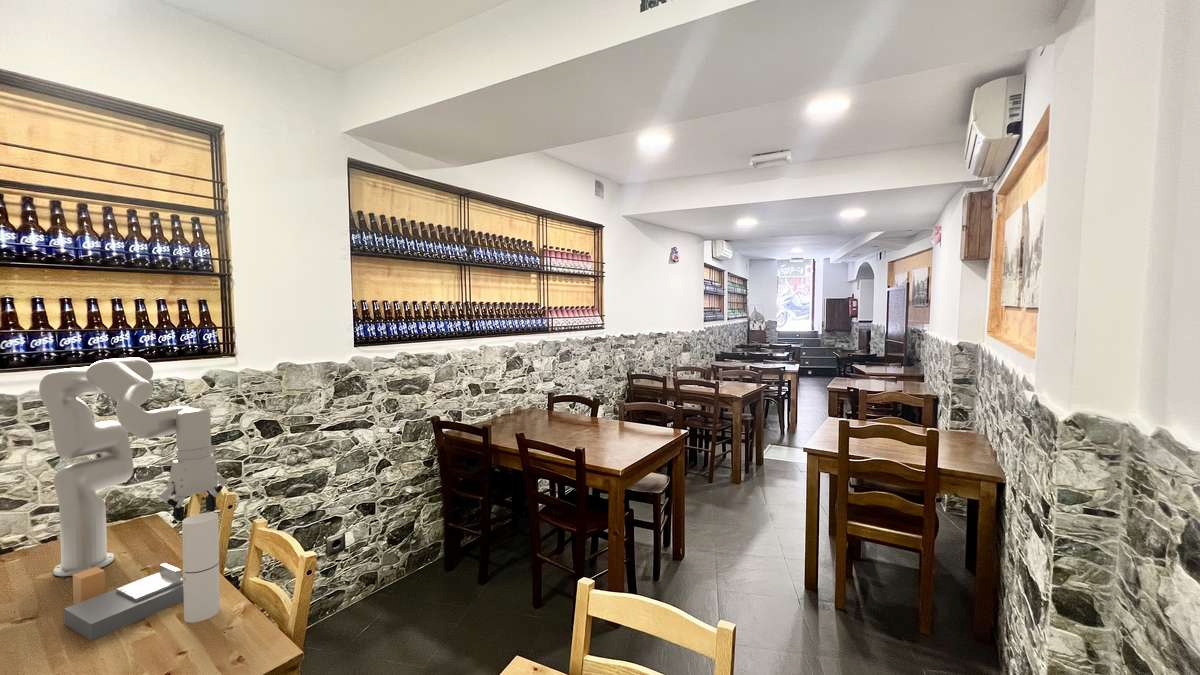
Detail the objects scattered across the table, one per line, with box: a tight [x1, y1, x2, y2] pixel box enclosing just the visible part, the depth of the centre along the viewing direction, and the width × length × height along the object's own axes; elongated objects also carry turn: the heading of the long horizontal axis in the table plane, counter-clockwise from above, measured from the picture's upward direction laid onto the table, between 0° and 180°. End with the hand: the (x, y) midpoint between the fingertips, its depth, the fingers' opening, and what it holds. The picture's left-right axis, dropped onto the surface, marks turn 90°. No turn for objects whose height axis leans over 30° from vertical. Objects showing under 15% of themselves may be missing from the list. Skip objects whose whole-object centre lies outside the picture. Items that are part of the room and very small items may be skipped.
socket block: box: [63, 577, 184, 642], centre depth 126 cm, size 14×20×4 cm
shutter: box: [115, 562, 183, 601], centre depth 130 cm, size 10×10×3 cm
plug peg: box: [72, 567, 106, 605], centre depth 129 cm, size 5×5×8 cm
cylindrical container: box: [181, 511, 221, 624], centre depth 125 cm, size 7×7×25 cm
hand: (195, 514), depth 139 cm, fingers open, 6 cm apart
